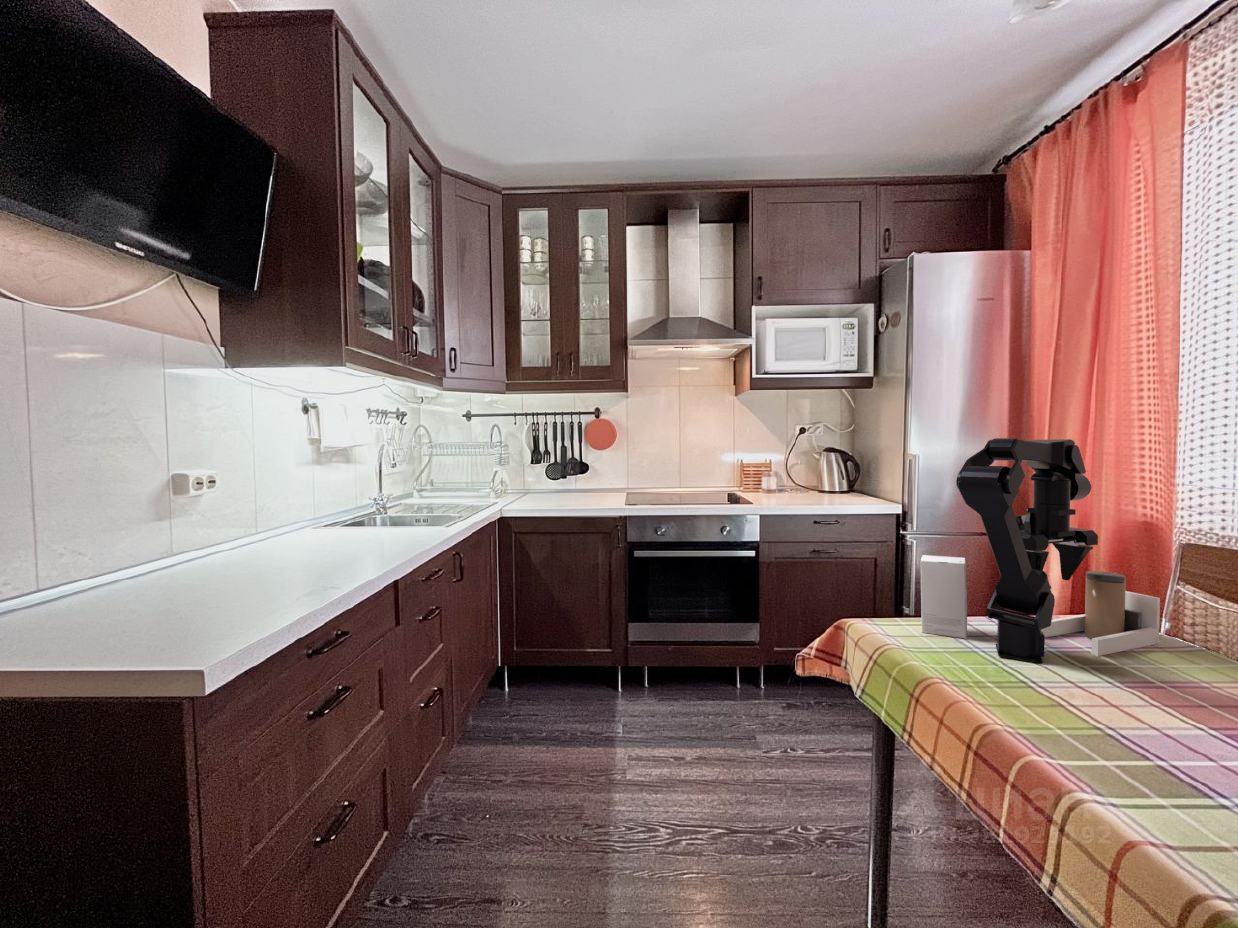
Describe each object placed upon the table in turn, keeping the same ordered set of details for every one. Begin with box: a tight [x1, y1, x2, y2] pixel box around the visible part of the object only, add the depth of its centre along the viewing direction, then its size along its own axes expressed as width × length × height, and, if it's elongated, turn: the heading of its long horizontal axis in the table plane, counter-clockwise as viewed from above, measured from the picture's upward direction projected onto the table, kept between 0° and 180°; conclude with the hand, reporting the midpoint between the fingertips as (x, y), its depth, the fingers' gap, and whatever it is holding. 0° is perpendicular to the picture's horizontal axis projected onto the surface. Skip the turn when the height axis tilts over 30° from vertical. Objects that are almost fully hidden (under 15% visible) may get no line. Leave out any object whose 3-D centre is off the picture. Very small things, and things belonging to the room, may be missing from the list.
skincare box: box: [919, 554, 968, 639], centre depth 115 cm, size 8×7×16 cm
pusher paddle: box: [1125, 609, 1142, 632], centre depth 112 cm, size 1×8×6 cm, turn 19°
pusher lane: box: [1041, 590, 1161, 657], centre depth 110 cm, size 18×11×9 cm, turn 109°
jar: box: [1084, 570, 1127, 641], centre depth 110 cm, size 6×6×13 cm
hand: (1049, 582), depth 108 cm, fingers open, 9 cm apart
